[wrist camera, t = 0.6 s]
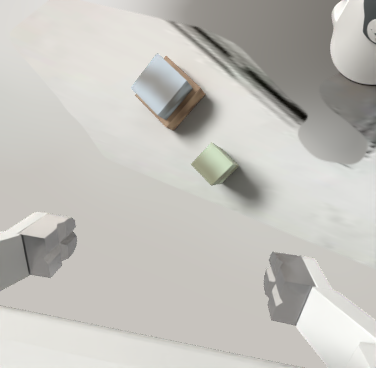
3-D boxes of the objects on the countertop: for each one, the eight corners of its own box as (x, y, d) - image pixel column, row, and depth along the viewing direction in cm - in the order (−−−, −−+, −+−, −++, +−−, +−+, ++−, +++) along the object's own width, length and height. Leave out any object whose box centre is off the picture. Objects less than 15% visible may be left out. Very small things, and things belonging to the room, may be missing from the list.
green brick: (221, 148, 47) (211, 142, 38) (239, 165, 46) (233, 163, 37) (205, 166, 49) (190, 164, 39) (221, 183, 48) (211, 185, 38)
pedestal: (173, 64, 50) (157, 44, 42) (205, 94, 48) (194, 79, 40) (144, 101, 52) (124, 88, 45) (173, 130, 50) (157, 123, 43)
